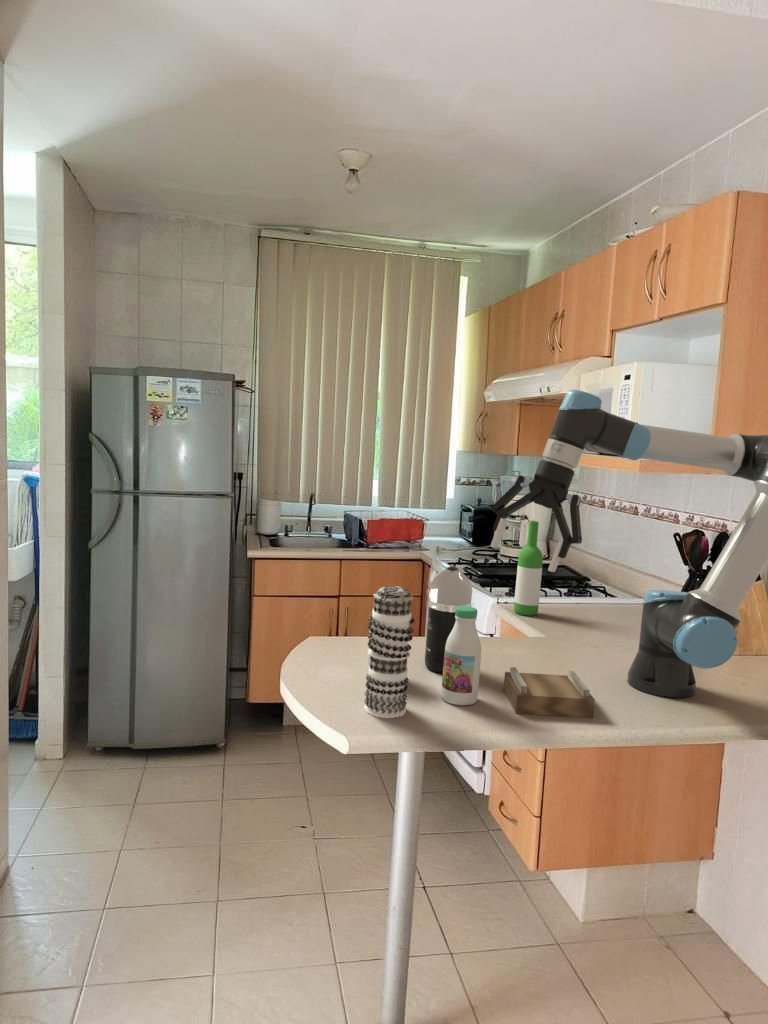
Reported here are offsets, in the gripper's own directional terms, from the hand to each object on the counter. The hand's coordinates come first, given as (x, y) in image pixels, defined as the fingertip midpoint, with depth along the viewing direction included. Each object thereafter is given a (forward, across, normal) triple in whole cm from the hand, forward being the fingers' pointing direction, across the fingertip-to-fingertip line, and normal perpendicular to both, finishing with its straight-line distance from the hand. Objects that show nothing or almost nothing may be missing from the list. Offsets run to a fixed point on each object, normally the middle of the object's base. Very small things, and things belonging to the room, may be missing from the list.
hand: (521, 559), depth 154 cm
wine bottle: (+24, -20, +80) cm, 86 cm away
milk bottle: (+33, -1, -2) cm, 33 cm away
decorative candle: (+37, -9, -17) cm, 42 cm away
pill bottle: (+37, -20, -2) cm, 42 cm away
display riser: (+28, +14, +9) cm, 32 cm away
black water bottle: (+33, -13, +14) cm, 38 cm away
